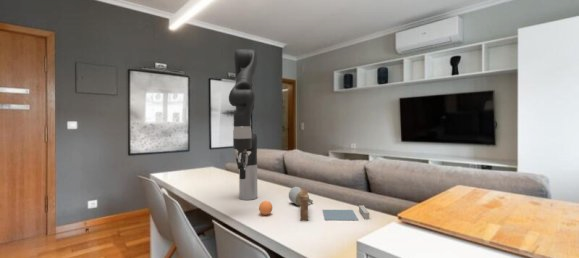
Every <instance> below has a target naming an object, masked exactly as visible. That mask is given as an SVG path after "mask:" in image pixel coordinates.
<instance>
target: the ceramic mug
mask: <svg viewBox="0 0 579 258" xmlns="http://www.w3.org/2000/svg"><path fill="white" fill-rule="evenodd" d="M300 189H301V187H299V186H293V187H292V188H291V189H290V190H289V192H288V198H289V200H290V202H292V203H293V204H295V205H296V206H299V207H300ZM313 202H314V201H313V199H312V198H310V195H309V194H308V204H313Z"/></svg>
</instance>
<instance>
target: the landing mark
mask: <svg viewBox="0 0 579 258" xmlns="http://www.w3.org/2000/svg"><path fill="white" fill-rule="evenodd" d="M322 214H323V218H324V221H359V218H358V217H357V215H356V213H355V211H354V209H322Z"/></svg>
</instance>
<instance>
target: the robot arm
mask: <svg viewBox="0 0 579 258" xmlns="http://www.w3.org/2000/svg"><path fill="white" fill-rule="evenodd" d="M233 60H234V75H235V84H234V86H233V87H232V89H231V90H230V92H229V93H228V102H229V104H230V106H232V107H235V113H234V114H233V131H232V135H233V137H232V140H233V141H232V147H233V149H234V150H236V151H237V153H236V158H235V160H236V165H237V170H238V172H239V173H238V174H239V175H238V183H239V184H238V185H239V190H238V191H239V193H238V194H239V195H238V196H239V199H240V200H243V201H252V200H255V199H258V136H257V134H256V133H253V132H252V129H251V128H252V127H251V126H252V123H251V122H252V121H251V120H252V119H251V117H252V116H251V115H252V113H253V111H254V110H255V99H256V96H255V93H254V91H253V90H252V83H253V77H254V74H255V73H256V72H255V71H256V68H257V65H258V55H257V50H255V49H249V48H246V49H245V48H244V49H243V48H240V49H235V51H234V56H233ZM248 152H250V153H248Z"/></svg>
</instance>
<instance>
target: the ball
mask: <svg viewBox="0 0 579 258" xmlns="http://www.w3.org/2000/svg"><path fill="white" fill-rule="evenodd" d="M258 205H259V206H258V210H259V212H260V213H261V214H262V215H264V216H267V215H270V214H271V213H272V212H273V204H272V203H271V202H270V201H268V200H264V201H262V202H261V203H260V204H258Z"/></svg>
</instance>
